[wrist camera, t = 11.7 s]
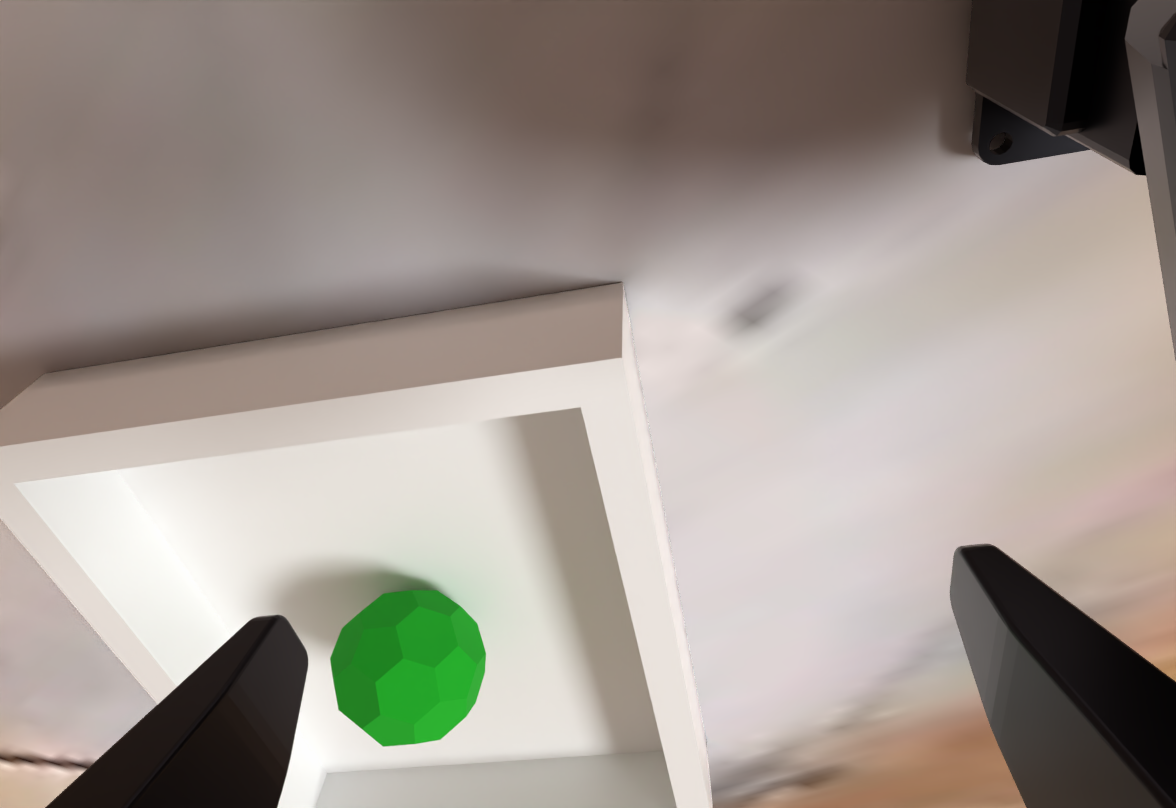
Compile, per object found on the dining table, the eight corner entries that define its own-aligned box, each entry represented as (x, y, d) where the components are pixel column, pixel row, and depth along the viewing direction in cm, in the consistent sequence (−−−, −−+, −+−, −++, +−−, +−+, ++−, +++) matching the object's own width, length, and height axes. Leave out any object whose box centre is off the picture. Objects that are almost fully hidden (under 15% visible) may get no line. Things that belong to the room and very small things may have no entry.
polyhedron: (472, 552, 25) (443, 675, 21) (510, 645, 28) (491, 770, 24) (334, 568, 26) (281, 690, 22) (384, 658, 29) (345, 780, 25)
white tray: (623, 282, 20) (621, 357, 17) (706, 741, 32) (715, 838, 29) (43, 374, 23) (-54, 454, 20) (320, 768, 35) (287, 859, 32)
